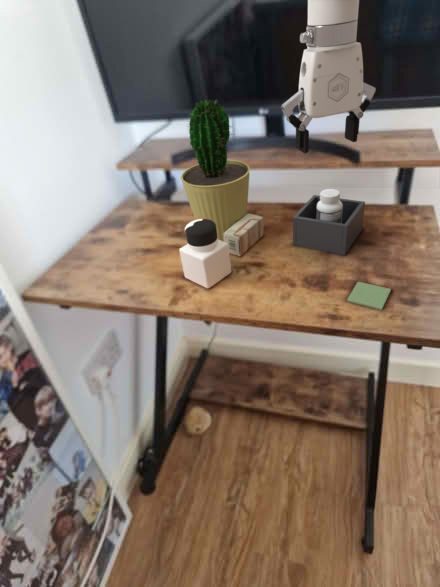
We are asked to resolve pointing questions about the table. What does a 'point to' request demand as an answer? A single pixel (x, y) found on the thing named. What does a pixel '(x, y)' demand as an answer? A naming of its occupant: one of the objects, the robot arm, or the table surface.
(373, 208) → the table surface
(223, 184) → the potted cactus
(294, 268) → the table surface
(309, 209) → the tub
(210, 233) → the medicine bottle
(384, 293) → the mat
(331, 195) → the pill bottle
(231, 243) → the small printed carton
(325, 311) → the table surface
